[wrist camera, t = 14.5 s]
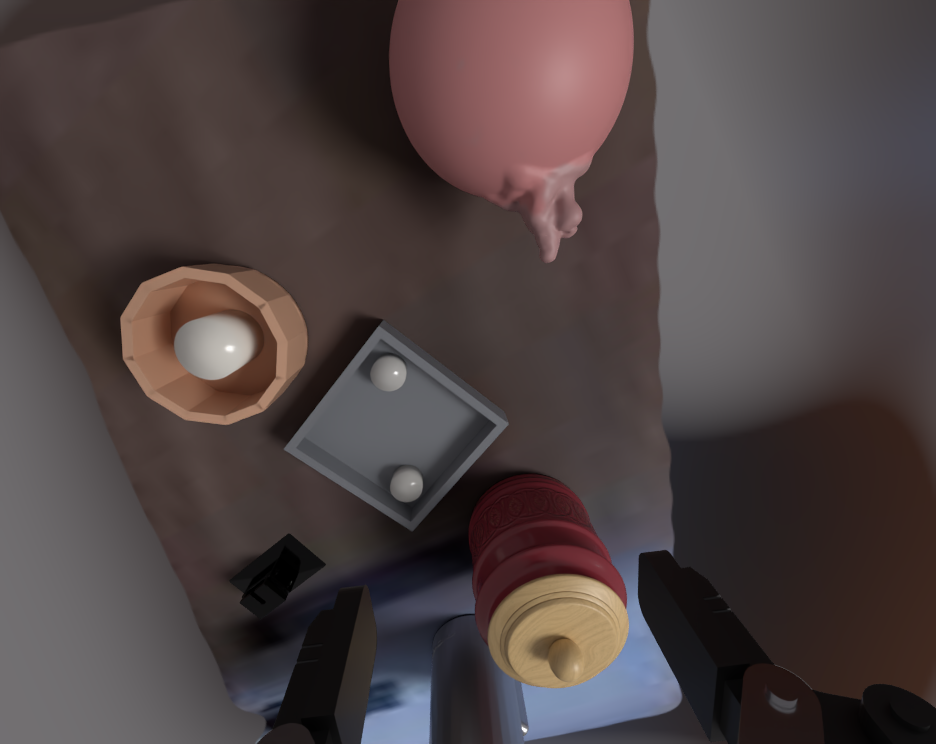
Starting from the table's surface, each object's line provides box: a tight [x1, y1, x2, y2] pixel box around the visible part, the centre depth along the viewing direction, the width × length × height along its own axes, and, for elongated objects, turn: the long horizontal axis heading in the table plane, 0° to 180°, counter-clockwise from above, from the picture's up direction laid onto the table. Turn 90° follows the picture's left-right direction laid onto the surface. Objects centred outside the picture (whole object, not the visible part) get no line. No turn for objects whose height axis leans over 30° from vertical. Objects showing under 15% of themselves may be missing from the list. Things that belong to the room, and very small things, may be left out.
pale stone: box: [174, 309, 264, 380], centre depth 37 cm, size 5×5×5 cm
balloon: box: [389, 0, 634, 263], centre depth 29 cm, size 15×20×15 cm
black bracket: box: [230, 534, 326, 619], centre depth 46 cm, size 12×7×5 cm, turn 129°
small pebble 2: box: [390, 465, 423, 502], centre depth 44 cm, size 3×3×2 cm
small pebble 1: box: [370, 353, 407, 391], centre depth 40 cm, size 3×3×2 cm
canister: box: [468, 474, 629, 688], centre depth 39 cm, size 13×13×18 cm
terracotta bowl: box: [120, 263, 308, 425], centre depth 37 cm, size 13×13×6 cm
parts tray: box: [284, 320, 509, 531], centre depth 42 cm, size 15×15×3 cm
